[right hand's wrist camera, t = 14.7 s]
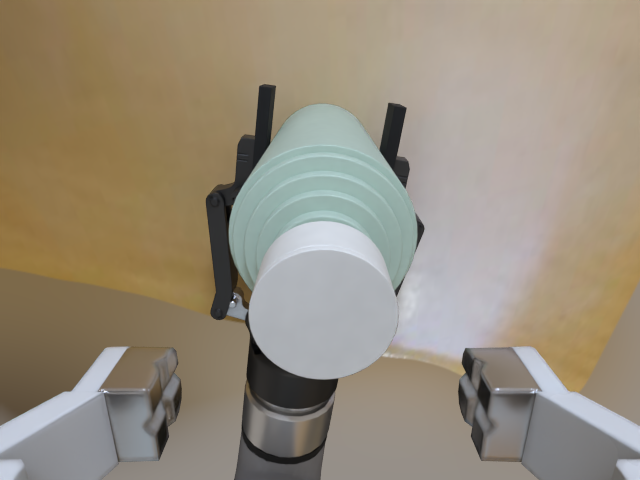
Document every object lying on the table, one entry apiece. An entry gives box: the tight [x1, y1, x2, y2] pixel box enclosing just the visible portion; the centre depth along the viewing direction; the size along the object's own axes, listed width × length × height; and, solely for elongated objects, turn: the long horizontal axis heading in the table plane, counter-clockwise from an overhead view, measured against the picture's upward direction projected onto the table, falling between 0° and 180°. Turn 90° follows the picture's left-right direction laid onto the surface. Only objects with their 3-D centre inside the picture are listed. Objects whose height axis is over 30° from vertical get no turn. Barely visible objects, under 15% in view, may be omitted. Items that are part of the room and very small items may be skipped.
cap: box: [248, 221, 399, 380], centre depth 14 cm, size 4×4×2 cm
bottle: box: [229, 104, 417, 292], centre depth 25 cm, size 8×8×25 cm
